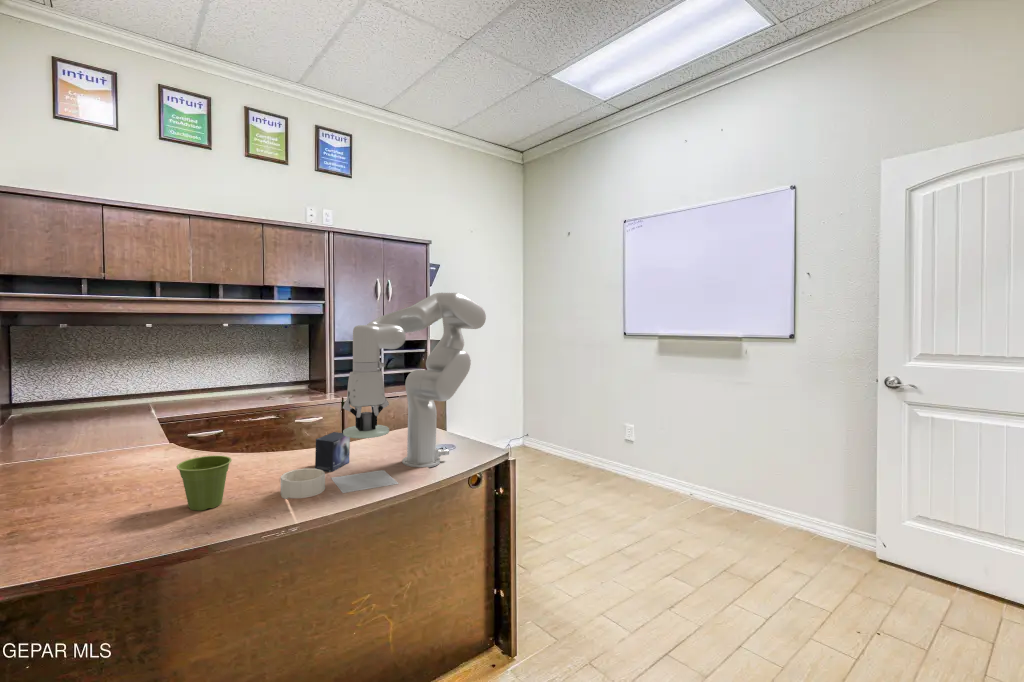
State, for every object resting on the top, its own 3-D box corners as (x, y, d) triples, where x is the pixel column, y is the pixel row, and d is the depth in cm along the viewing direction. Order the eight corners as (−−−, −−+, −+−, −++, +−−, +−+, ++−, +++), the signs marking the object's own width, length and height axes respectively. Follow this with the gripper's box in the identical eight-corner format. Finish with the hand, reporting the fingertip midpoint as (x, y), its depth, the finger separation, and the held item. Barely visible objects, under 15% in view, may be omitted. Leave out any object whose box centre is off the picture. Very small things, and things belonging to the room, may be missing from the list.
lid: (381, 425, 153) (381, 406, 153) (395, 434, 142) (395, 415, 142) (338, 430, 146) (338, 411, 146) (349, 440, 135) (349, 420, 135)
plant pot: (183, 499, 128) (183, 457, 127) (235, 494, 132) (235, 454, 131) (170, 517, 117) (170, 471, 116) (227, 512, 121) (227, 467, 120)
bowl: (319, 483, 143) (319, 466, 143) (328, 495, 134) (328, 477, 133) (278, 489, 137) (278, 472, 137) (284, 503, 128) (284, 484, 127)
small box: (332, 474, 151) (333, 441, 150) (313, 472, 152) (314, 439, 152) (350, 464, 161) (351, 432, 161) (332, 462, 163) (333, 431, 162)
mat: (383, 471, 155) (383, 469, 155) (398, 485, 143) (398, 483, 143) (330, 479, 146) (331, 477, 146) (342, 495, 134) (342, 493, 134)
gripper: (389, 364, 150) (389, 423, 152) (334, 367, 141) (334, 429, 143) (397, 367, 144) (397, 428, 145) (340, 370, 135) (340, 435, 136)
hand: (366, 428), depth 144 cm, fingers closed on lid, 3 cm apart
